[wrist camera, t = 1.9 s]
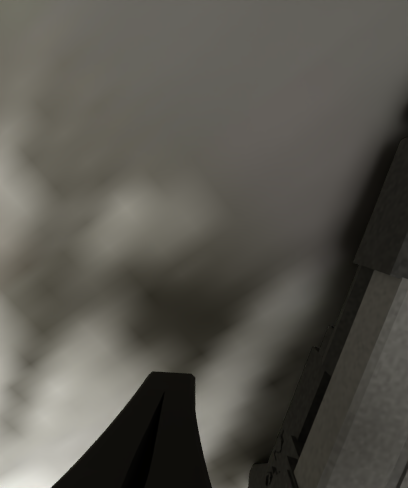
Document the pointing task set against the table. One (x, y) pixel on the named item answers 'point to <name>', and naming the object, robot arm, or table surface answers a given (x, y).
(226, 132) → the table surface
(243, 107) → the table surface
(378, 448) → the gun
